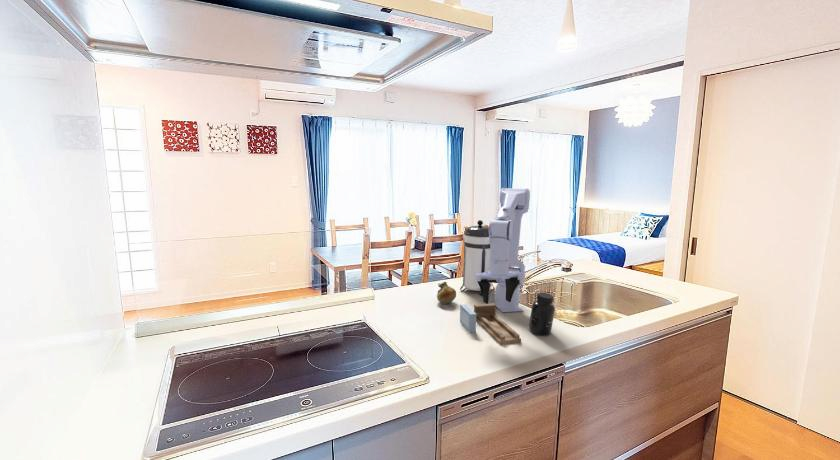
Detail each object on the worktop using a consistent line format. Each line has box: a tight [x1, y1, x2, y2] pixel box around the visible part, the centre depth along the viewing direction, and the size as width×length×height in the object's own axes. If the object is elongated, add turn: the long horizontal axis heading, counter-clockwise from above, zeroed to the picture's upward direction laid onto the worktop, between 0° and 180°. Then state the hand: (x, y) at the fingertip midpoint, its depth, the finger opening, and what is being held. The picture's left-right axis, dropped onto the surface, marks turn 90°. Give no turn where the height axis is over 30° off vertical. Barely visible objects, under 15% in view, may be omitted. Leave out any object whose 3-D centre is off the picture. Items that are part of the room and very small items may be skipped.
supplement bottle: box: [528, 292, 556, 336], centre depth 120 cm, size 7×7×12 cm
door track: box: [473, 302, 522, 345], centre depth 122 cm, size 20×7×5 cm, turn 14°
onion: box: [436, 281, 457, 305], centre depth 146 cm, size 8×8×8 cm
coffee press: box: [459, 219, 498, 297], centre depth 160 cm, size 17×16×30 cm
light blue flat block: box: [459, 303, 477, 333], centre depth 124 cm, size 9×2×6 cm, turn 14°
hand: (497, 301), depth 119 cm, fingers open, 7 cm apart
